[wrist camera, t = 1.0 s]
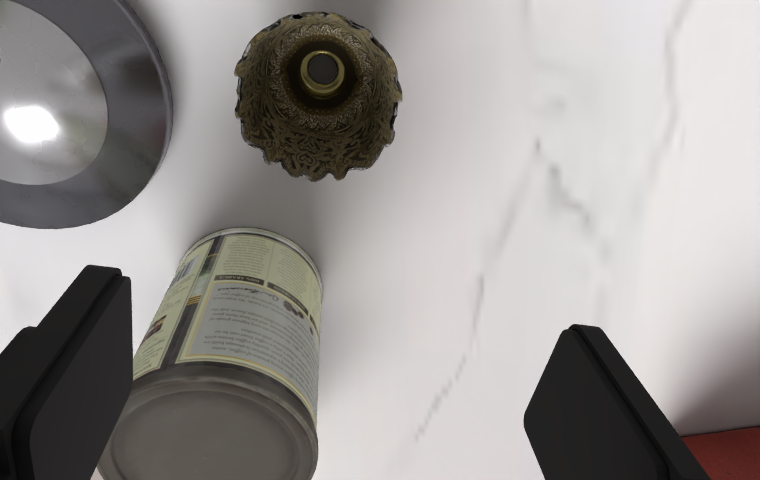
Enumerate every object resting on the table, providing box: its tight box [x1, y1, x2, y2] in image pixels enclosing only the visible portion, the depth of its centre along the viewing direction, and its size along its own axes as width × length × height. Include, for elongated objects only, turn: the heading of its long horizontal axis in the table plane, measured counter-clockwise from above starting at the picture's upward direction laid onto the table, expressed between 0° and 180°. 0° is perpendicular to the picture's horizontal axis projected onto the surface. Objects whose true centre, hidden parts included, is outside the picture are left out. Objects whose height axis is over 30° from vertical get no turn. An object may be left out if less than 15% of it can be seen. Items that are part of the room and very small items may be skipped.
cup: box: [234, 12, 402, 182], centre depth 26 cm, size 8×7×8 cm
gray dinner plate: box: [0, 0, 173, 229], centre depth 28 cm, size 16×16×2 cm
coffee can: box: [96, 228, 322, 480], centre depth 30 cm, size 10×10×14 cm
